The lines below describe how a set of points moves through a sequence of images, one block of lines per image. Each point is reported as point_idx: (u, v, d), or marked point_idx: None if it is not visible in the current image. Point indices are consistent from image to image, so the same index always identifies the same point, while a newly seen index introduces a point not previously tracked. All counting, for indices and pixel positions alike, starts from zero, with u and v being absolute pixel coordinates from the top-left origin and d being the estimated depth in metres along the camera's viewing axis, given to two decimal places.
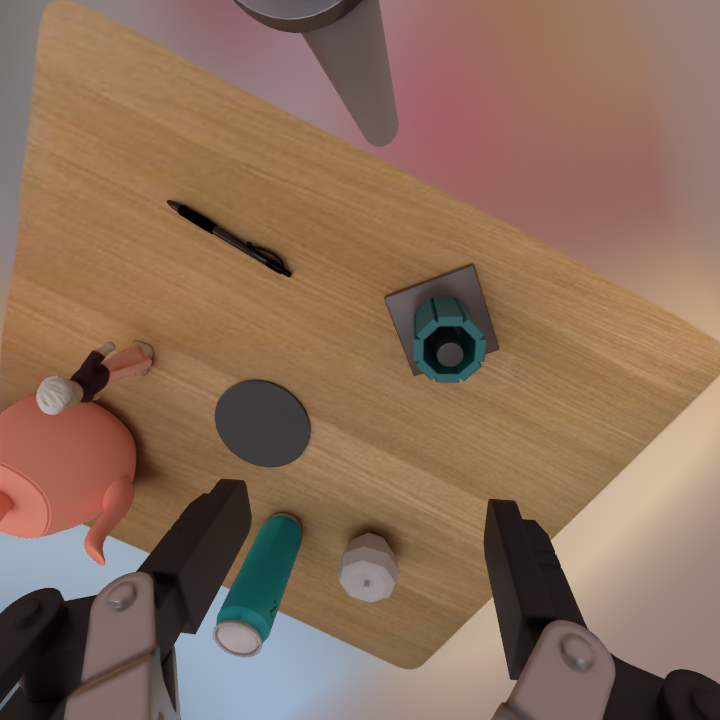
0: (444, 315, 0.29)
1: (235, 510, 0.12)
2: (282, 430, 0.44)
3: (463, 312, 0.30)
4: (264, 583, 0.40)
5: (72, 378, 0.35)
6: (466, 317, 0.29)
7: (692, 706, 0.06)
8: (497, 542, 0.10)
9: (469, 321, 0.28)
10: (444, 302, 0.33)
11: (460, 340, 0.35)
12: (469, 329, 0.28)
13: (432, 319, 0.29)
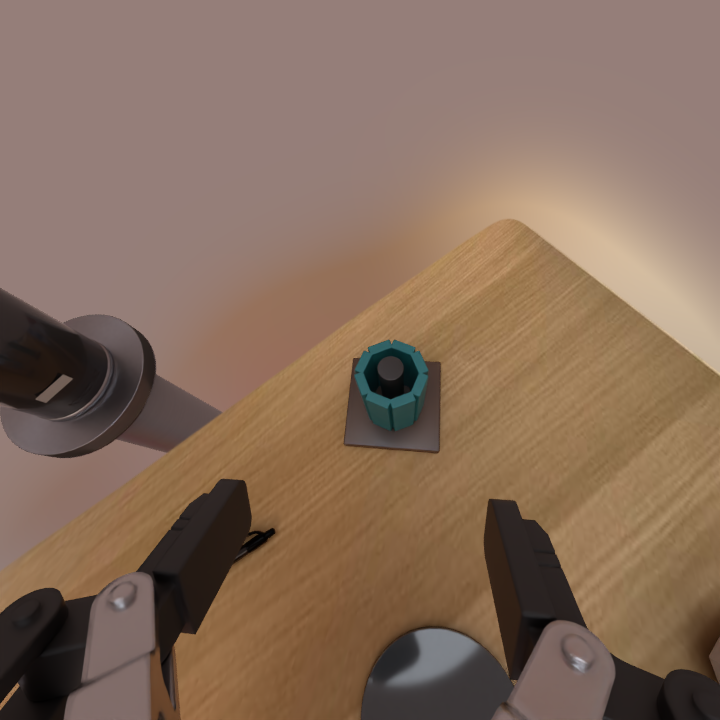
0: (357, 366, 0.30)
1: (236, 510, 0.12)
2: (460, 690, 0.27)
3: None
4: None
5: None
6: (368, 350, 0.30)
7: (692, 706, 0.06)
8: (497, 542, 0.10)
9: (370, 347, 0.30)
10: None
11: (411, 385, 0.35)
12: (377, 349, 0.30)
13: (354, 376, 0.29)
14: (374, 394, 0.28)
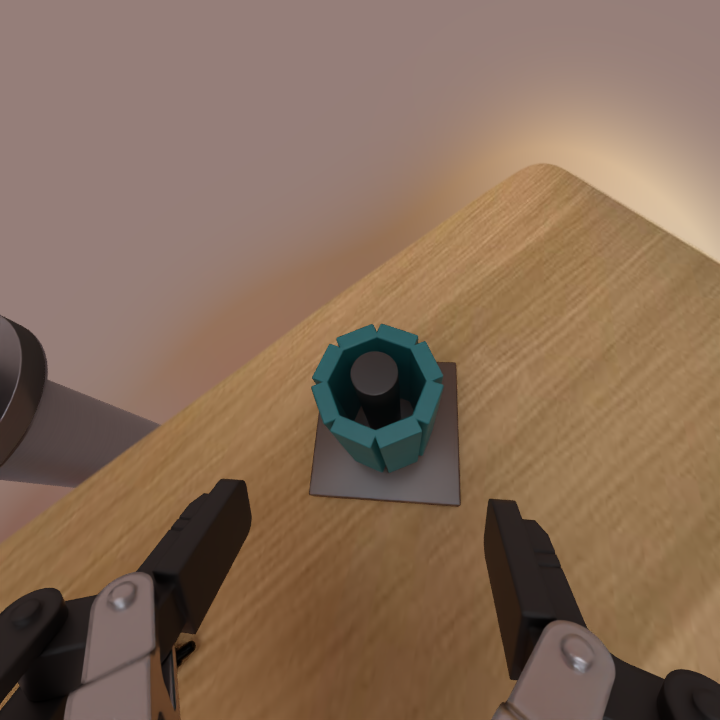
0: None
1: (236, 510, 0.12)
2: None
3: None
4: None
5: None
6: None
7: (692, 706, 0.06)
8: (497, 542, 0.10)
9: (341, 337, 0.17)
10: None
11: (412, 400, 0.22)
12: (352, 340, 0.17)
13: (312, 389, 0.16)
14: (346, 421, 0.16)
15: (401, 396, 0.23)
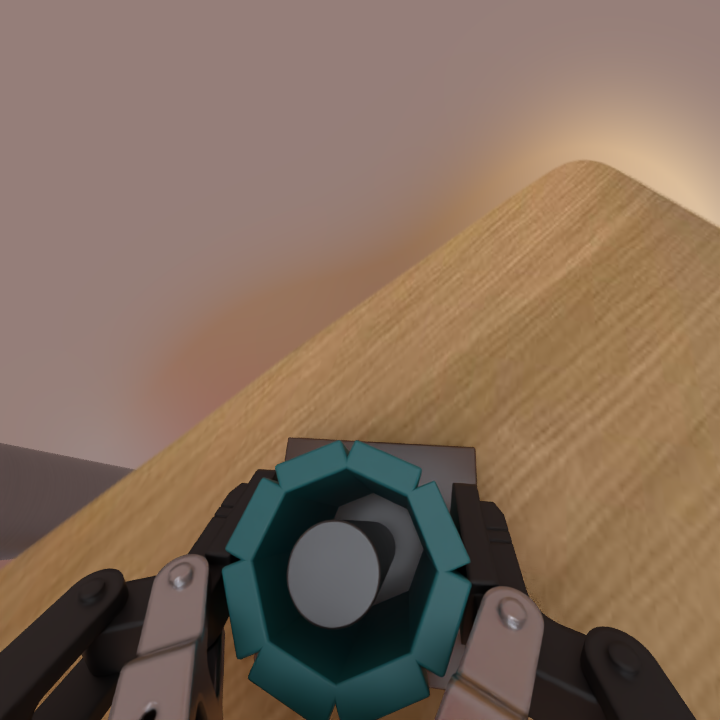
0: None
1: None
2: None
3: None
4: None
5: None
6: None
7: (607, 656, 0.07)
8: (456, 521, 0.11)
9: (283, 464, 0.10)
10: None
11: (412, 519, 0.14)
12: (303, 472, 0.09)
13: (224, 572, 0.09)
14: (280, 658, 0.08)
15: (395, 503, 0.16)
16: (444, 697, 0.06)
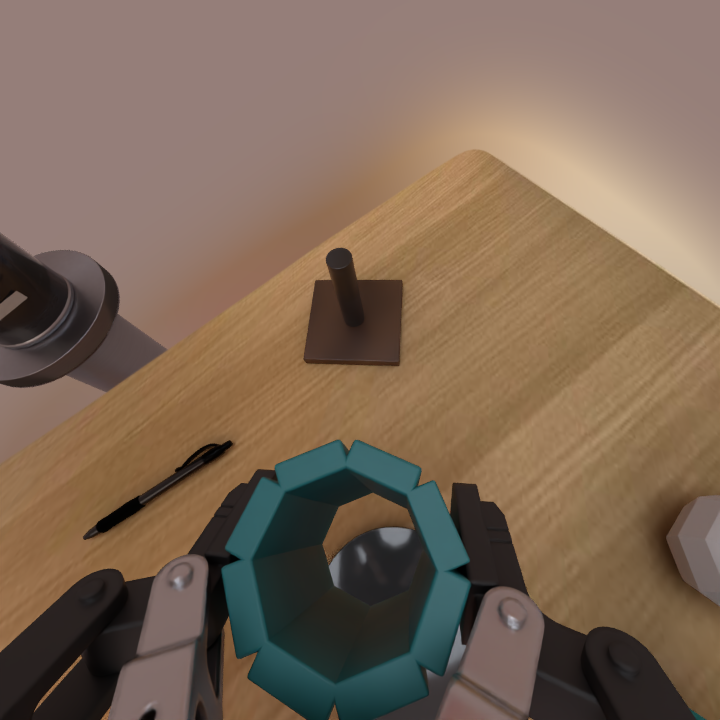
0: None
1: None
2: None
3: None
4: None
5: None
6: None
7: (607, 656, 0.07)
8: (456, 521, 0.11)
9: (283, 464, 0.10)
10: None
11: None
12: (303, 472, 0.09)
13: (223, 572, 0.09)
14: (280, 657, 0.08)
15: (395, 502, 0.16)
16: (444, 697, 0.06)
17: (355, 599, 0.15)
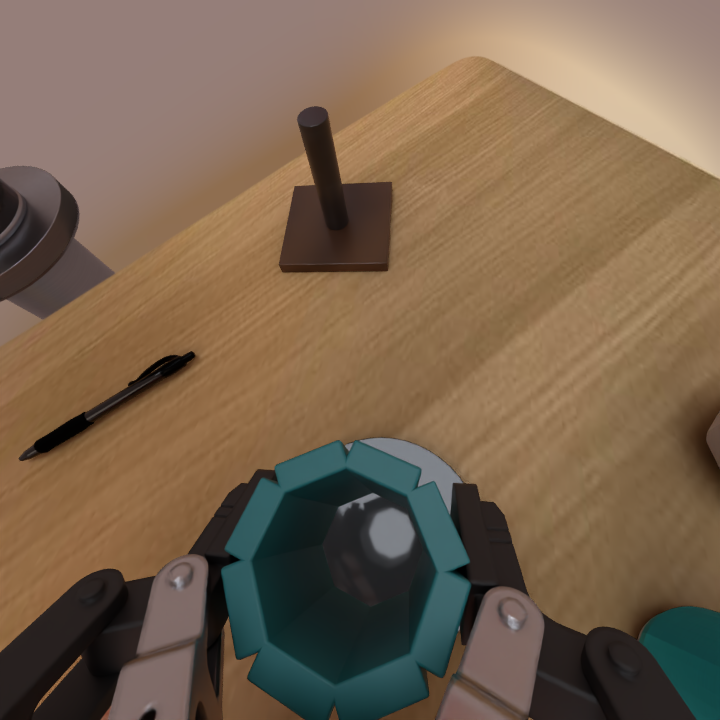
0: None
1: None
2: None
3: None
4: None
5: None
6: None
7: (607, 656, 0.07)
8: (456, 521, 0.11)
9: (283, 465, 0.10)
10: None
11: (412, 519, 0.14)
12: (302, 472, 0.09)
13: (223, 573, 0.09)
14: (280, 658, 0.08)
15: (395, 503, 0.16)
16: (444, 697, 0.06)
17: (355, 599, 0.15)
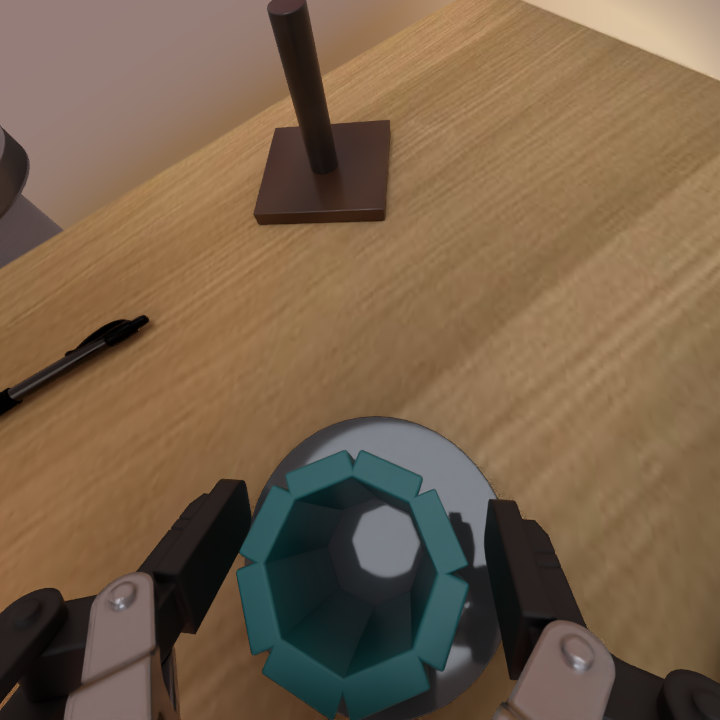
0: None
1: (235, 510, 0.12)
2: None
3: None
4: None
5: None
6: None
7: (692, 706, 0.06)
8: (497, 542, 0.10)
9: (293, 473, 0.10)
10: None
11: (413, 522, 0.15)
12: (312, 480, 0.10)
13: None
14: (292, 654, 0.09)
15: (397, 506, 0.16)
16: None
17: (359, 599, 0.15)
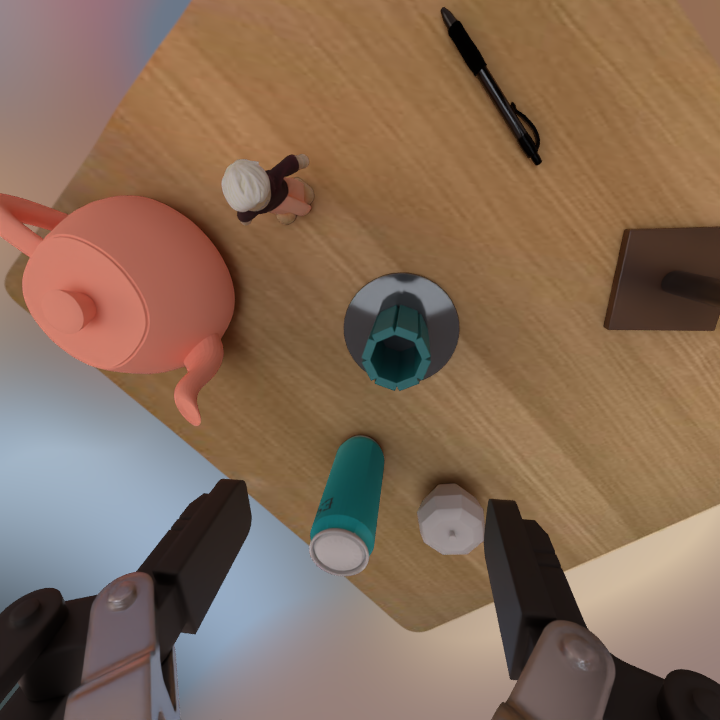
0: (402, 326, 0.30)
1: (235, 510, 0.12)
2: None
3: (420, 329, 0.32)
4: (370, 501, 0.34)
5: None
6: (421, 335, 0.30)
7: (692, 706, 0.06)
8: (497, 542, 0.10)
9: (422, 340, 0.30)
10: (407, 314, 0.35)
11: (410, 353, 0.37)
12: (420, 346, 0.30)
13: (390, 326, 0.30)
14: (373, 346, 0.31)
15: None
16: None
17: None
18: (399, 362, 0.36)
